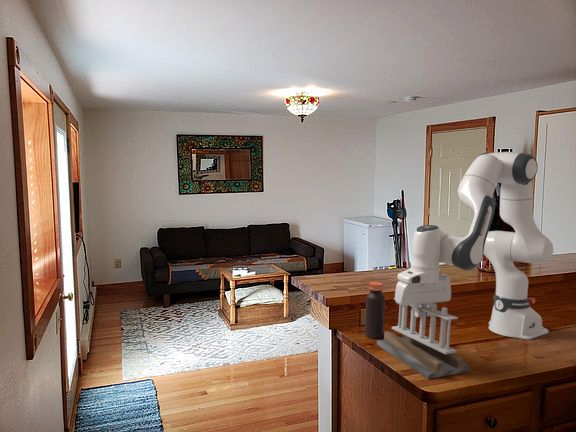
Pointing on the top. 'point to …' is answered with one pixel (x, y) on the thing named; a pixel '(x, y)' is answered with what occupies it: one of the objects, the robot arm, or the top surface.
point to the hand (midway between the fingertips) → (422, 316)
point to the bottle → (375, 311)
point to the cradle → (422, 356)
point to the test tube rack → (421, 336)
